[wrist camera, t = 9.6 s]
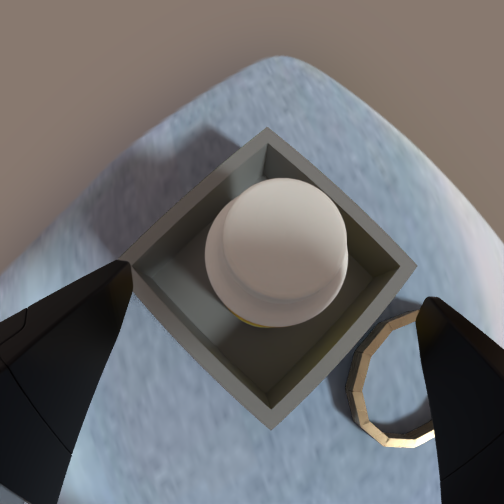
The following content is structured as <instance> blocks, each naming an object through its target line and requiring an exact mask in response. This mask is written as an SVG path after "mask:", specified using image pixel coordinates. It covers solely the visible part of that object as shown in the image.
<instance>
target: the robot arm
mask: <svg viewBox="0 0 504 504" xmlns="http://www.w3.org/2000/svg"><path fill="white" fill-rule="evenodd" d="M132 292H133V278H132V271H131V265H130V263H129V262H128V261H124V260H115V261H113V262H111V263H109V264H107V265H105V266H103V267H101V268H99V269H97V270H95V271H93V272H92V273H90V274H88V275H86V276H84V277H82V278H80V279H78V280H76V281H74V282H73V283H71V284H69V285H67V286H65V287H63V288H61V289H60V290H58V291H56V292H54V293H52V294H50V295H49V296H47V297H45V298H43V299H41V300H39V301H38V302H36V303H34V304H32V305H30V306H29V307H28V309H27V308H25V309H23V310H22V311H20V312H18V313H16V314H15V315H13V316H11V317H9V318H7V319H5V320H4V321H2V322H0V504H24V501H25V502H26V503H28V504H57V502H58V498H59V495H60V491H61V488H62V485H63V481H64V478H65V475H66V472H67V469H68V466H69V463H70V459H71V456H72V455H71V454H72V453H73V450H74V447H75V444H76V441H77V438H78V435H79V433H80V430H81V427H82V424H83V422H84V419H85V416H86V413H87V411H88V408H89V405H90V403H91V400H92V398H93V395H94V393H95V390H96V387H97V385H98V382H99V380H100V377H101V375H102V373H103V370H104V368H105V365H106V363H107V361H108V358H109V356H110V353H111V351H112V349H113V346H114V344H115V342H116V340H117V337H118V335H119V332H120V329H121V326H122V323H123V320H124V316H125V313H126V310H127V307H128V304H129V301H130V298H131V295H132ZM416 329H417V336H418V343H419V350H420V358H421V365H422V370H423V374H424V379H425V384H426V389H427V394H428V399H429V404H430V410H431V416H432V422H433V428H434V434H435V441H436V449H437V457H438V465H439V475H440V481H441V482H440V488H441V502H442V504H504V349H503V348H501V347H500V346H499V345H498V344H497V343H495V342H494V341H493V340H492V339H491V338H489V337H488V336H487V335H486V334H485V333H483V332H482V331H481V330H480V329H478V328H477V327H476V326H475V325H473V324H472V323H471V322H470V321H468V320H467V319H466V318H465V317H463V316H462V315H461V314H460V313H458V312H457V311H456V310H454V309H453V308H452V307H451V306H449V305H448V304H447V303H445V302H444V301H443V300H441V299H440V298H438V297H430V296H429V297H427V298H426V299H425V300H424V302H423V304H422V306H421V308H420V310H419V312H418V314H417V317H416Z"/></svg>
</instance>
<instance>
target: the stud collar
mask: <svg viewBox="0 0 504 504" xmlns="http://www.w3.org/2000/svg"><path fill="white" fill-rule="evenodd" d="M418 312H419V310H415V311H408V312H406V313H403V314H401V315H398V316H395V317H393V318H390V319H388V320H385V321H382V322H380V323H378V324H377V325H376V327H375V328H374V329H373V330H372V332H371V333H370V334H369V335H368V336H367V337H366V339H365V340H364V341H363V342H362V343H361V344H360V346H359V347H358V348H357V349H356V350H355V351H356V352H354V356H353V360H352V364H351V368H350V371H349V375H348V379H347V382H346V386H345V387H346V388H345V389H346V393H347V398H348V402H349V406H350V410H351V414H352V418H353V420H354V422H355V423H356V424H358V425H359V426H360V427H361V428H362V429H363V430H365V431H366V432H367V433H368V434H369V435H370V436H372V437H373V438H374V439H375V440H376V441H378V442H379V443H380V444H381V445H383V446H385V447H407V448H414V447H417V446H418V445H420V444H422V443H424V442H426V441H428V440H430V439H431V438H433V437H435V434H434V428H433V422H432V419H431V421H430V422H428V423H426V424H424V425H422V426H420V427H418V428H417V429H415V430H413V431H411V432H409V433H407V434H397V433H384V432H381V431H380V430H379V429H378V428H377V427H375V426H374V425H373V424H372V423H371V422H370V421H369V419H368V415H367V410H366V406H365V401H364V397H363V393H362V389H363V385H364V381H365V378H366V374H367V370H368V366H369V362H370V358H371V356H372V355H373V354H374V353H375V351H376V350H377V349H378V348H379V347H380V345H381V344H382V343H383V342H384V340H385V339H386V338H387V337H388V335H389V334H390V333H391V332H392V330H395V329H397V328H400V327H402V326H405V325H407V324H410V323H412V322H416V317H417V314H418Z"/></svg>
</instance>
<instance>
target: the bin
mask: <svg viewBox="0 0 504 504" xmlns="http://www.w3.org/2000/svg"><path fill="white" fill-rule="evenodd" d="M275 178H290V179H296V180H300V181H303V182H306V183H309V184H311V185H313V186H314V187H316V188H318V189H319V190H321V191H322V192H323V193H325V194H326V195H327V196H328V197H329V198H330V199H331V200H332V202H333V203H334V204H335V205H336V207H337V208H338V210H339V212H340V214H341V216H342V218H343V221H344V224H345V229H346V235H347V250H348V265H347V272H346V276H345V279H344V282H343V284H342V287H341V289H340V291H339V292H338V294H337V296H336V297H335V298H334V300H333V301H332V302H331V303H330V304H329V305H328V306H327V307H326V308H325V309H324V310H323V311H322V312H320V313H319V314H317V315H316V316H314V317H313V318H311V319H309V320H307V321H305V322H302V323H299V324H296V325H292V326H286V327H269V328H265V327H256V326H252V325H249V324H247V323H245V322H243V321H241V320H240V319H238V318H237V317H236V316H235V315H233V314H232V313H231V312H230V310H229V309H228V308H227V307H226V306H225V304H224V303H223V302H222V301H221V300H220V298H219V297H218V295H217V294H216V292H215V291H214V289H213V287H212V285H211V283H210V280H209V277H208V274H207V270H206V264H205V246H206V240H207V236H208V233H209V230H210V228H211V226H212V224H213V222H214V220H215V218H216V217H217V215H218V214H219V213H220V211H221V210H222V209H223V208H224V207H225V206H226V205H227V204H228V203H229V202H230V201H232V200H233V199H234V198H236V197H237V196H239V195H240V194H241V193H243V192H244V191H245V190H246V189H248V188H249V187H251V186H253V185H255V184H257V183H259V182H262V181H265V180H269V179H275ZM118 260H124V261H128V262H129V263H130V265H131V271H132V278H133V292H134V293H135V295H136V296H137V297H138V298H139V299H140V300H141V302H142V303H143V304H144V305H145V306H146V307H147V309H148V310H149V311H150V312H151V313H152V314H153V315H154V316H155V318H156V319H157V320H158V321H159V322H160V323H161V324H162V325H163V326H164V327H165V329H166V330H167V331H168V332H169V333H170V334H171V335H172V336H173V337H174V338H175V339H176V340H177V341H178V343H179V344H180V345H181V346H182V347H183V348H184V349H185V350H186V351H187V352H188V353H189V354H190V355H191V356H192V357H193V358H194V359H195V360H196V361H197V362H198V363H199V364H200V365H201V366H202V367H203V368H204V369H205V370H206V371H207V372H208V373H209V374H210V375H211V376H212V377H213V378H214V379H215V380H216V381H217V382H218V383H219V384H220V385H221V386H222V387H223V388H224V389H225V390H226V391H227V392H229V393H230V394H231V395H232V396H233V397H234V398H235V399H236V400H237V401H238V402H239V403H240V404H241V405H243V406H244V407H245V408H246V409H247V410H248V411H249V412H250V413H251V414H253V415H254V416H255V417H256V418H257V419H258V420H259V421H260V422H262V423H263V424H264V425H265V426H266V427H267V428H268V429H270V430H272V429H273V428H274V427H276V426H277V425H278V424H279V423H280V422H281V421H282V420H283V419H284V418H285V417H286V416H287V415H288V414H289V413H290V412H292V411H293V410H294V409H295V408H296V407H297V406H298V405H299V404H300V403H301V402H302V401H303V400H304V399H305V398H306V397H307V396H308V395H309V394H310V393H311V392H312V391H313V390H314V389H315V388H316V387H317V386H318V385H319V384H320V383H321V382H322V380H323V379H324V378H325V377H326V376H327V375H328V374H329V373H330V372H331V371H332V370H333V369H334V368H335V367H336V366H337V364H338V363H339V362H340V361H341V360H342V359H343V358H344V357H345V356H346V355H347V353H348V352H349V351H350V350H351V349H352V348H353V347H354V346H355V344H356V343H357V342H358V341H359V340H360V339H361V337H362V336H363V335H364V334H365V333H366V332H367V330H368V329H369V328H370V327H371V326H372V324H373V323H374V322H375V321H376V320H377V318H378V317H379V316H380V315H381V313H382V312H383V311H384V310H385V308H386V307H387V306H388V305H389V303H390V302H391V301H392V300H393V298H394V297H395V296H396V294H397V293H398V292H399V290H400V289H401V288H402V286H403V285H404V284H405V282H406V281H407V280H408V278H409V277H410V276H411V274H412V273H413V272H414V270H415V269H416V267H417V265H416V264H415V262H414V261H413V260H412V259H411V258H410V257H409V256H408V255H407V254H406V253H405V252H404V251H403V250H402V249H401V248H400V247H399V246H398V245H397V244H396V243H395V242H394V241H393V240H392V238H391V237H390V236H389V235H388V234H387V233H386V232H385V231H384V230H383V229H382V228H381V227H380V226H379V225H378V224H377V223H376V222H374V221H373V220H372V219H371V218H370V217H369V216H368V215H367V214H366V213H365V212H364V211H363V210H362V209H361V208H360V207H359V206H358V205H357V204H356V203H355V202H354V201H353V200H352V199H350V198H349V197H348V196H347V195H346V194H345V193H344V192H343V191H342V190H341V189H340V188H339V187H337V186H336V185H335V184H334V183H333V182H332V181H331V180H330V179H329V178H327V177H326V176H325V175H324V174H323V173H322V172H321V171H320V170H318V169H317V168H316V167H315V166H314V165H313V164H312V163H310V162H309V161H308V160H307V159H306V158H305V157H303V156H302V155H301V154H300V153H299V152H297V151H296V150H295V149H294V148H293V147H291V146H290V145H289V144H288V143H287V142H285V141H284V140H283V139H282V138H281V137H279V136H278V135H277V134H276V133H274V132H273V131H272V130H271V129H269V128H268V127H266V128H265V129H264V130H263V131H261V132H260V133H259V134H258V135H256V136H255V137H254V138H253V139H251V140H250V141H249V142H248V143H246V144H245V145H244V146H243V147H241V148H240V149H239V150H238V151H237V152H235V153H234V154H233V155H232V156H231V157H229V158H228V159H227V160H226V161H225V162H223V163H222V164H221V165H220V166H219V167H217V168H216V169H215V170H214V171H213V172H212V173H210V174H209V175H208V176H207V177H206V178H205V179H203V180H202V181H201V182H200V183H199V184H198V185H197V186H195V187H194V188H193V189H192V190H191V191H190V192H189V193H188V194H186V195H185V196H184V197H183V198H182V199H181V200H180V201H179V202H178V203H176V204H175V205H174V206H173V207H172V208H171V209H170V210H169V211H168V212H167V213H165V214H164V215H163V216H162V217H161V218H160V219H159V220H158V221H157V222H156V223H155V224H154V225H153V226H152V227H151V228H149V229H148V230H147V231H146V232H145V233H144V234H143V235H142V236H141V237H140V238H139V239H138V240H137V241H136V242H135V243H134V244H133V245H132V246H131V247H130V248H129V249H128V250H127V251H126V252H125V253H124V254H123V255H122V256H121V257H120V258H119V259H118Z"/></svg>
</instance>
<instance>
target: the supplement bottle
mask: <svg viewBox="0 0 504 504" xmlns="http://www.w3.org/2000/svg"><path fill="white" fill-rule="evenodd" d="M205 264H206V270H207V274H208V277H209V280H210V283H211V285H212V287H213V289H214V291H215V292H216V294H217V295H218V297H219V298H220V300H221V301H222V302H223V303H224V304H225V306H226V307H227V308H228V309H229V310H230V312H231V313H232V314H233V315H235V316H236V317H237V318H238V319H240V320H241V321H243V322H245V323H247V324H249V325H252V326H256V327H265V328H269V327H286V326H292V325H296V324H299V323H302V322H305V321H307V320H309V319H311V318H313V317H314V316H316V315H317V314H319V313H320V312H322V311H323V310H324V309H325V308H326V307H327V306H328V305H329V304H330V303H331V302H332V301H333V300H334V298H335V297H336V296H337V294H338V292H339V291H340V289H341V287H342V284H343V282H344V279H345V276H346V272H347V265H348V250H347V235H346V229H345V224H344V221H343V218H342V216H341V214H340V212H339V210H338V208H337V207H336V205H335V204H334V203H333V202H332V200H331V199H330V198H329V197H328V196H327V195H326V194H325V193H323V192H322V191H321V190H319V189H318V188H316V187H314V186H313V185H311V184H309V183H306V182H303V181H300V180H296V179H290V178H275V179H269V180H265V181H262V182H259V183H257V184H255V185H253V186H251V187H249V188H248V189H246V190H245V191H244V192H243V193H241V194H240V195H239V196H237V197H236V198H234V199H233V200H232V201H230V202H229V203H228V204H227V205H226V206H225V207H224V208H223V209H222V210H221V211H220V213H219V214H218V215H217V217H216V218H215V220H214V222H213V224H212V226H211V228H210V230H209V233H208V236H207V240H206V246H205Z"/></svg>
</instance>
